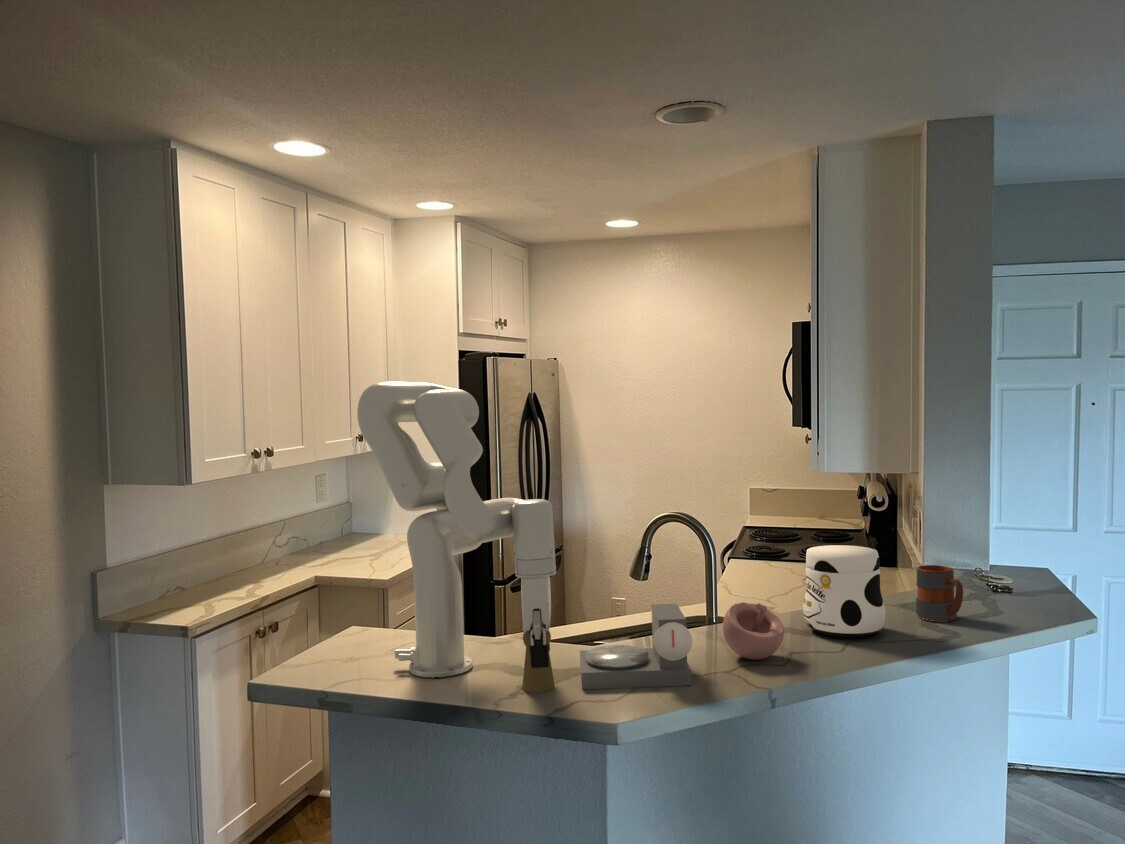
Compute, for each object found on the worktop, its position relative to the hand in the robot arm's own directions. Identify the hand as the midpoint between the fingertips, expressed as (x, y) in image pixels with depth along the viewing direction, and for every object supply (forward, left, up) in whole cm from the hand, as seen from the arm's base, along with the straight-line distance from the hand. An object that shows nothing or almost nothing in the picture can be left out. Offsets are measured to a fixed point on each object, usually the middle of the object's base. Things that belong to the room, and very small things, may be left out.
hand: (540, 659), depth 150 cm
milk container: (+66, +30, -6) cm, 73 cm away
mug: (+91, +37, -6) cm, 99 cm away
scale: (+17, +5, -5) cm, 19 cm away
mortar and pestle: (+42, +13, -6) cm, 45 cm away
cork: (-1, 0, -6) cm, 6 cm away
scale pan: (+14, +5, -2) cm, 15 cm away
